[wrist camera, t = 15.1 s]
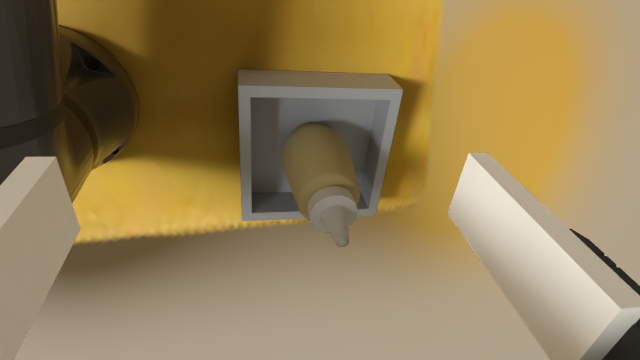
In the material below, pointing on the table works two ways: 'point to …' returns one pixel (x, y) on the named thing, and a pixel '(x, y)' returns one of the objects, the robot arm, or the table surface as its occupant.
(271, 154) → the bin
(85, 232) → the table surface
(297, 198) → the squeeze bottle
